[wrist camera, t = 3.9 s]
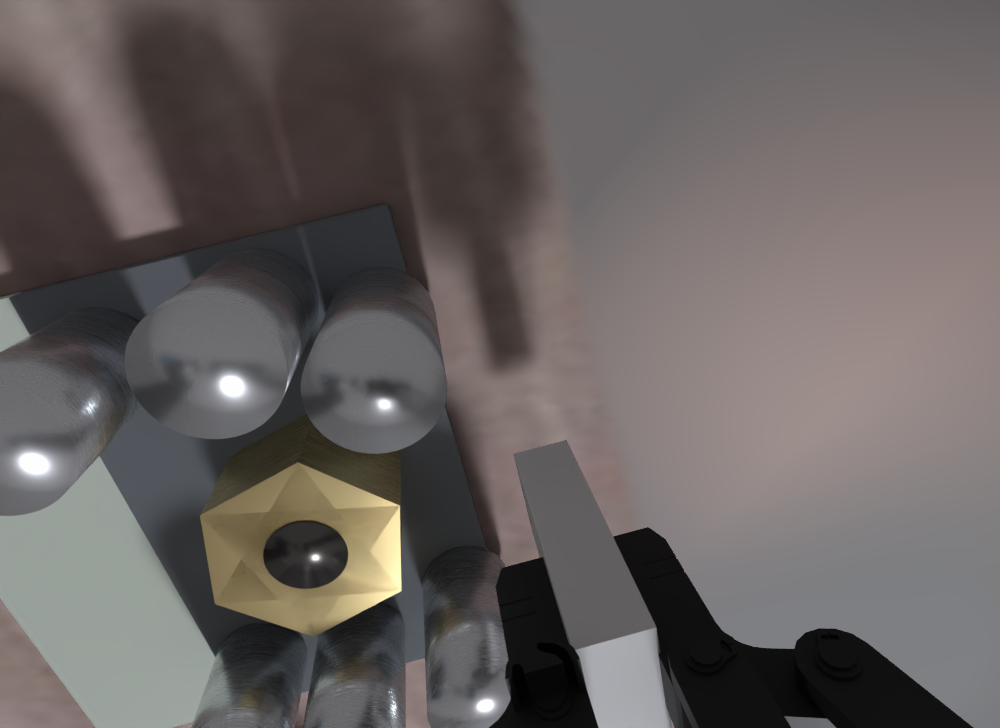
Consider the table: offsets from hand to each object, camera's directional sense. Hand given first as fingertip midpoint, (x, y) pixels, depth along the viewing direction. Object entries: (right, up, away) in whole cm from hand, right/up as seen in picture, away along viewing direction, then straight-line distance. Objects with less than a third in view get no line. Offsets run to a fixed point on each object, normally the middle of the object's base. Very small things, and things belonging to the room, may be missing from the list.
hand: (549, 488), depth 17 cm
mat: (-10, -1, +3) cm, 10 cm away
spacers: (-7, 0, +2) cm, 8 cm away
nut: (-7, -1, +2) cm, 7 cm away
